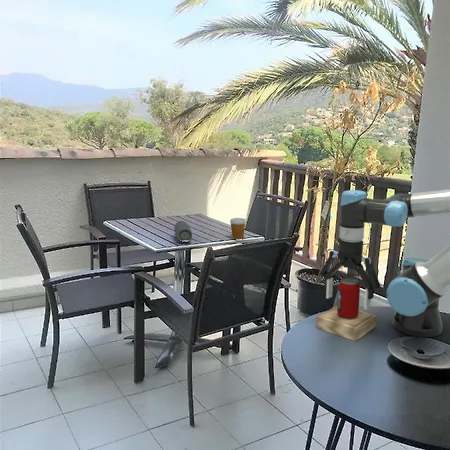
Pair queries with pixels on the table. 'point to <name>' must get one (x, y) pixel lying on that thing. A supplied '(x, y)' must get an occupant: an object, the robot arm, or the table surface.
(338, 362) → the table surface
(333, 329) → the square tray
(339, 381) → the table surface
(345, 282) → the beverage can
